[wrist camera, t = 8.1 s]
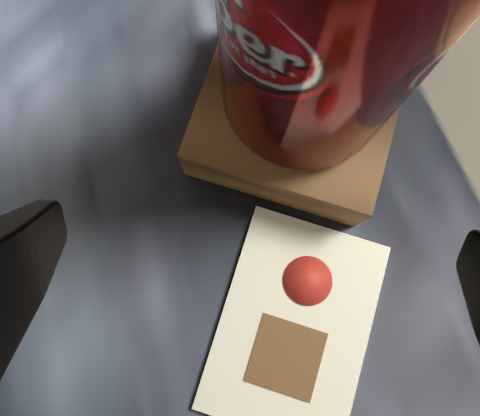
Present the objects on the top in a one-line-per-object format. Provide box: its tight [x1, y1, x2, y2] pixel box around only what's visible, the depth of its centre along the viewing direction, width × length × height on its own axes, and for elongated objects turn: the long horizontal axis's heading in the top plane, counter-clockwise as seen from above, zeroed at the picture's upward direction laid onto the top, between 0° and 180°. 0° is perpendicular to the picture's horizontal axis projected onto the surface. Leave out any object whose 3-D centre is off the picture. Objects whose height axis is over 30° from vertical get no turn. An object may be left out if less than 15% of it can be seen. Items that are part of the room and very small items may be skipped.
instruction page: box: [192, 206, 391, 416], centre depth 20 cm, size 10×7×1 cm
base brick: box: [177, 44, 400, 227], centre depth 20 cm, size 9×9×3 cm
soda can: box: [215, 0, 480, 170], centre depth 13 cm, size 7×7×12 cm
